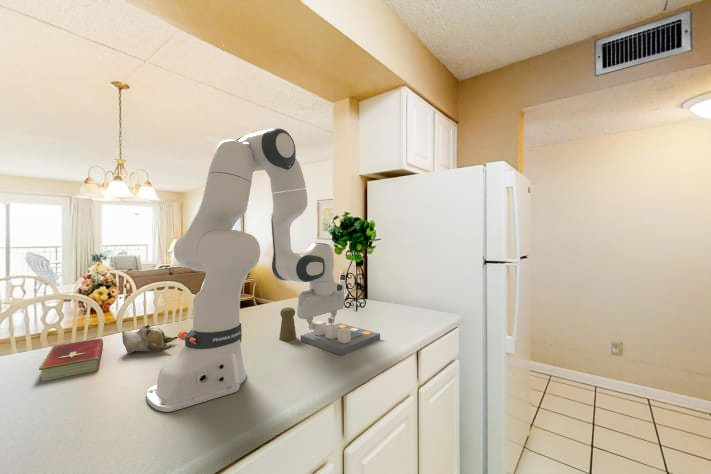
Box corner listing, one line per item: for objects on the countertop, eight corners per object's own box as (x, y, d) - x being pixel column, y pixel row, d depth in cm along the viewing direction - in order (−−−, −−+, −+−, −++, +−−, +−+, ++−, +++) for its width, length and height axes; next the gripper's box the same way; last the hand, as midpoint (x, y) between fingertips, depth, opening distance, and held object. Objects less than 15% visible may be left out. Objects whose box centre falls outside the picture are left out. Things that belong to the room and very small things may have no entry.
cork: (298, 335, 117) (298, 306, 117) (293, 341, 111) (293, 310, 111) (282, 335, 118) (282, 305, 117) (276, 340, 112) (276, 309, 111)
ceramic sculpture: (128, 321, 105) (179, 320, 110) (127, 347, 105) (177, 344, 110) (115, 331, 95) (171, 329, 100) (114, 359, 95) (170, 356, 100)
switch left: (319, 335, 110) (319, 324, 110) (313, 333, 112) (313, 322, 112) (325, 333, 113) (325, 322, 113) (320, 331, 115) (320, 320, 115)
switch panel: (341, 355, 98) (341, 348, 98) (300, 341, 111) (300, 334, 111) (380, 339, 113) (380, 333, 113) (339, 328, 126) (339, 322, 126)
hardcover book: (103, 349, 105) (103, 336, 105) (99, 371, 88) (99, 356, 88) (53, 357, 98) (53, 344, 98) (39, 383, 81) (38, 367, 81)
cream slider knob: (344, 343, 103) (344, 331, 103) (337, 341, 105) (337, 329, 104) (350, 341, 105) (350, 329, 105) (344, 339, 107) (344, 327, 107)
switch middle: (331, 339, 107) (331, 327, 106) (325, 337, 108) (325, 325, 108) (337, 337, 109) (337, 325, 109) (331, 335, 111) (331, 324, 111)
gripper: (305, 293, 103) (305, 335, 104) (347, 284, 119) (347, 321, 119) (293, 291, 107) (293, 331, 108) (335, 283, 123) (335, 318, 123)
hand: (322, 325), depth 114 cm, fingers open, 8 cm apart
